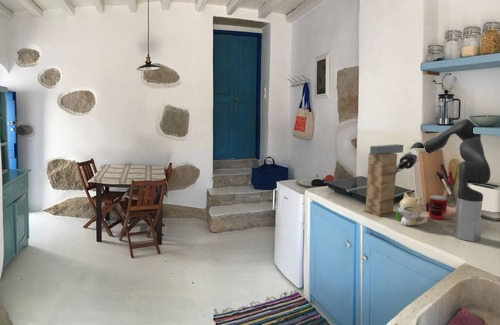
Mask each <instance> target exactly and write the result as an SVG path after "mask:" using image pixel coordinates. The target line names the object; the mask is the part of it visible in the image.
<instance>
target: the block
mask: <svg viewBox="0 0 500 325" xmlns="http://www.w3.org/2000/svg"><path fill="white" fill-rule="evenodd" d="M369 148H370V149H369V151H370V152H369V153H370V154H374V155H380V154H391V153H395V154H399V153H401V154H402V153H404V144H386V145H381V144H380V145H371V146H370V147H369Z"/></svg>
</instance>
